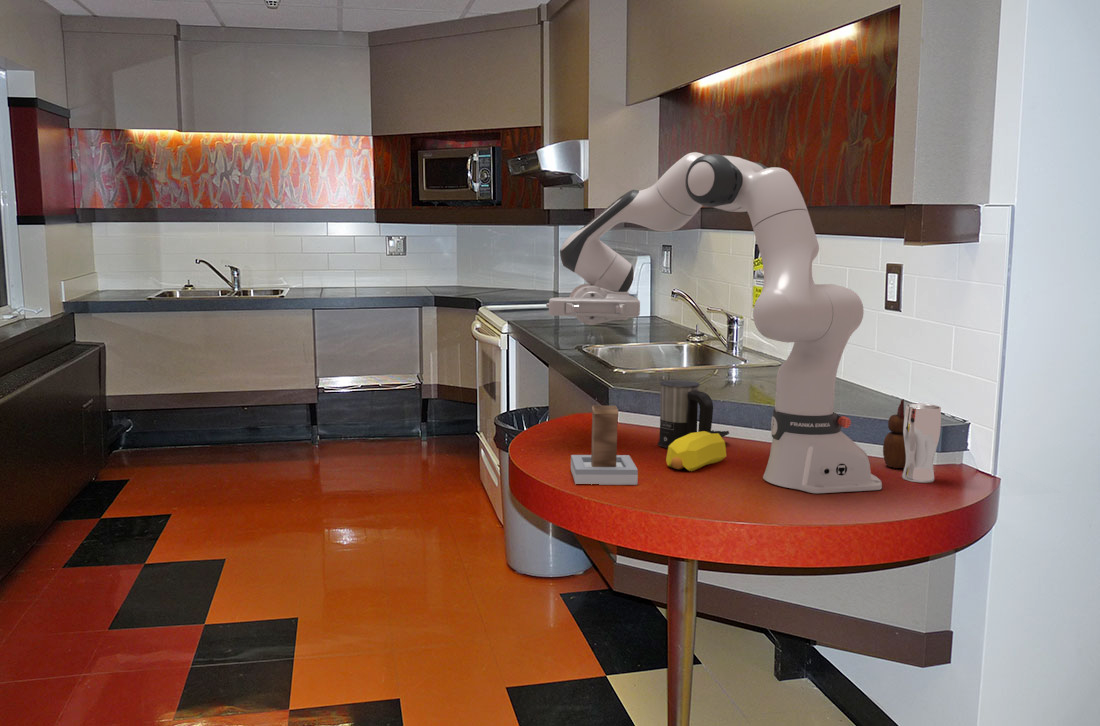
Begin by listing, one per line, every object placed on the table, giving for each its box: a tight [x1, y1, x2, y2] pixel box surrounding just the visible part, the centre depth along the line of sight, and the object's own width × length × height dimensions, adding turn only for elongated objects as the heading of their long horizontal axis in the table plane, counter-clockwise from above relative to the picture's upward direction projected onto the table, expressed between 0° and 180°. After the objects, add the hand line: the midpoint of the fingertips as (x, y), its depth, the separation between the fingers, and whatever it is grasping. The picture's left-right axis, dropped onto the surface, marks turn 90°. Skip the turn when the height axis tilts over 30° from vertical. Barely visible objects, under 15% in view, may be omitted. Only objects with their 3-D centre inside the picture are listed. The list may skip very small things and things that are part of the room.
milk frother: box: [657, 379, 730, 449], centre depth 213 cm, size 14×16×15 cm
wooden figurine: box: [882, 398, 905, 469], centre depth 195 cm, size 7×6×15 cm
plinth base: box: [570, 454, 639, 486], centre depth 183 cm, size 12×12×3 cm
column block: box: [590, 405, 619, 467], centre depth 182 cm, size 5×5×12 cm
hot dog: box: [665, 431, 727, 472], centre depth 195 cm, size 18×7×8 cm
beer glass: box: [901, 402, 942, 484], centre depth 185 cm, size 7×7×15 cm
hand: (597, 309), depth 197 cm, fingers open, 8 cm apart
